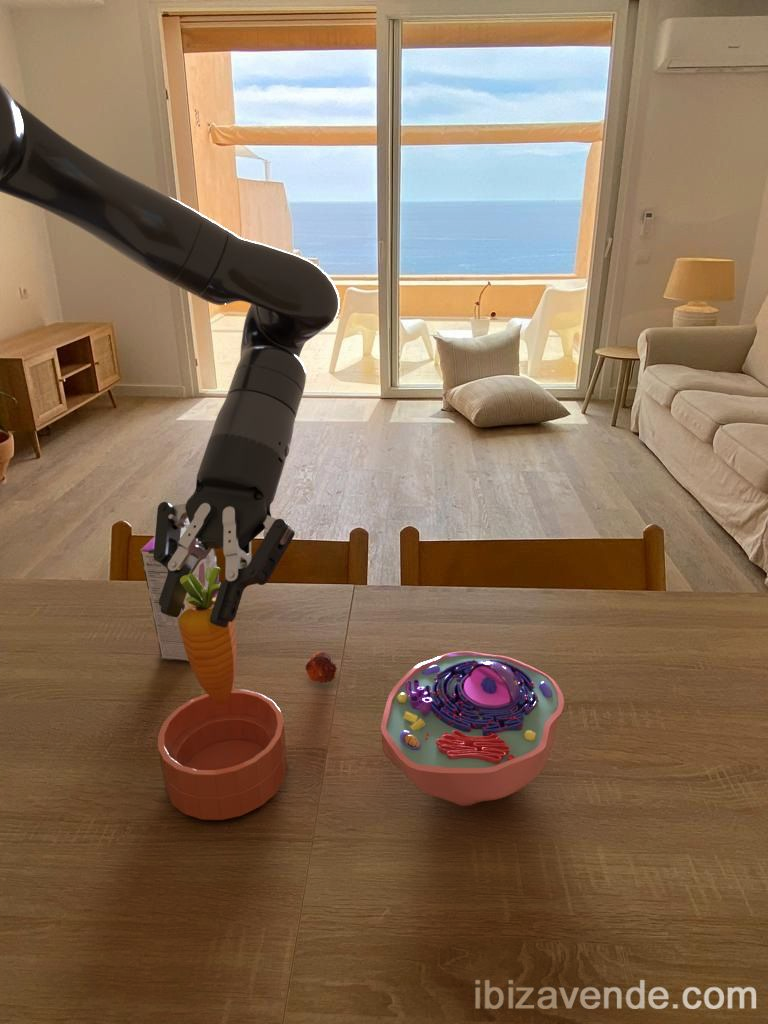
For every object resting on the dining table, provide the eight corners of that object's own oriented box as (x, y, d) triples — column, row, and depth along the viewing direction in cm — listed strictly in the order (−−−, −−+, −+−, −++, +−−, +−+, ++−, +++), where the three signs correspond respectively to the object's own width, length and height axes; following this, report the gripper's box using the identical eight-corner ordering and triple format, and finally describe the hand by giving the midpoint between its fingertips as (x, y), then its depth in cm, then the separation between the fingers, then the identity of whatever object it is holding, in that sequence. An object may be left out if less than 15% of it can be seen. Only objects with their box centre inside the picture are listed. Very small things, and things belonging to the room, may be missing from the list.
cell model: (343, 769, 73) (339, 681, 68) (475, 689, 84) (479, 609, 80) (459, 878, 61) (464, 781, 56) (593, 767, 73) (606, 679, 68)
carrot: (244, 683, 71) (220, 553, 65) (253, 713, 67) (228, 576, 61) (195, 697, 70) (166, 564, 64) (200, 727, 65) (170, 589, 59)
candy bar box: (192, 614, 101) (177, 511, 94) (225, 617, 100) (212, 513, 93) (157, 660, 90) (138, 548, 84) (194, 663, 90) (177, 551, 83)
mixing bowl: (149, 824, 67) (139, 773, 64) (187, 735, 78) (179, 688, 75) (275, 827, 66) (270, 776, 63) (295, 737, 77) (291, 690, 75)
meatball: (303, 686, 85) (301, 659, 84) (318, 669, 88) (316, 643, 87) (328, 694, 84) (327, 666, 82) (343, 676, 87) (341, 650, 85)
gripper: (165, 424, 66) (102, 596, 61) (301, 438, 62) (246, 625, 56) (202, 458, 73) (149, 616, 68) (327, 473, 69) (280, 643, 63)
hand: (193, 619), depth 62 cm, fingers closed on carrot, 4 cm apart
